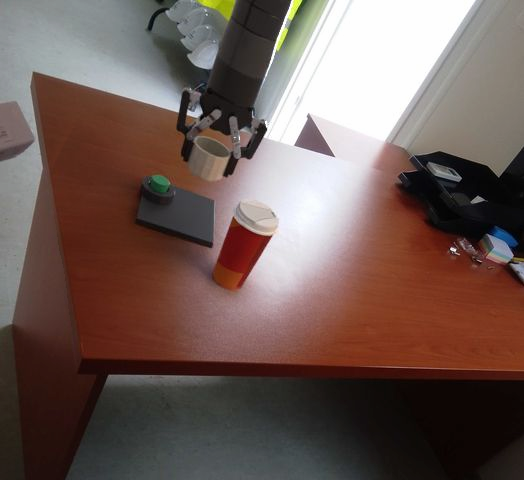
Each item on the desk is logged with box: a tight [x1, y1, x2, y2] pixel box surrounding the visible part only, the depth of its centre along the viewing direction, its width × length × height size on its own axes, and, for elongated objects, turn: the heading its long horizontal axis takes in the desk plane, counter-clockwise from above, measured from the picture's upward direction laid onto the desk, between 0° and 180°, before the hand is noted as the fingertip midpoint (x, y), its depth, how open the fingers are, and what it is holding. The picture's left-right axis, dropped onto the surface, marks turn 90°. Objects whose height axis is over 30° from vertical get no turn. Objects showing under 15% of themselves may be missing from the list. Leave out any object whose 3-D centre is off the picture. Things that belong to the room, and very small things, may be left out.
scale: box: [134, 175, 216, 249], centre depth 85 cm, size 15×15×3 cm
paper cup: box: [212, 198, 280, 291], centre depth 75 cm, size 8×8×14 cm
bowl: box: [186, 135, 231, 183], centre depth 75 cm, size 6×6×4 cm
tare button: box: [150, 174, 170, 193], centre depth 84 cm, size 3×3×2 cm
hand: (205, 167), depth 76 cm, fingers closed on bowl, 6 cm apart
